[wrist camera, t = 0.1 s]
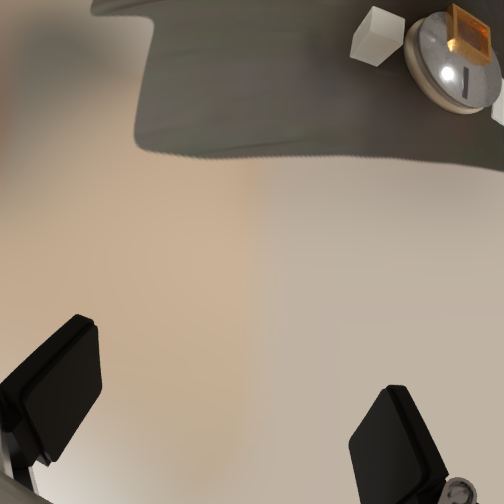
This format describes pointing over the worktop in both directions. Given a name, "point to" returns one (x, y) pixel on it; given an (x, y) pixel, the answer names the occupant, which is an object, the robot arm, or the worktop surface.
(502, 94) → the mat
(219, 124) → the worktop surface
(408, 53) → the base
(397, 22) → the white rectangular block
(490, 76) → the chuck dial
